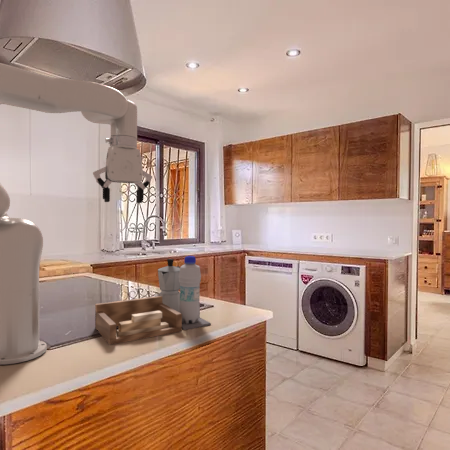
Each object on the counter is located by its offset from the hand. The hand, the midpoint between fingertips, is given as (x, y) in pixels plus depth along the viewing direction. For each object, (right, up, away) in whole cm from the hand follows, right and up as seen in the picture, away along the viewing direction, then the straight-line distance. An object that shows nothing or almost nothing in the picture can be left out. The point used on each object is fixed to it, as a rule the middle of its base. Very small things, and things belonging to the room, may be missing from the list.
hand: (123, 202), depth 105 cm
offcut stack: (+8, -37, -8) cm, 38 cm away
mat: (+20, -37, +2) cm, 42 cm away
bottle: (+19, -36, +2) cm, 41 cm away
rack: (+5, -37, -4) cm, 37 cm away
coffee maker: (+12, -36, +15) cm, 41 cm away
